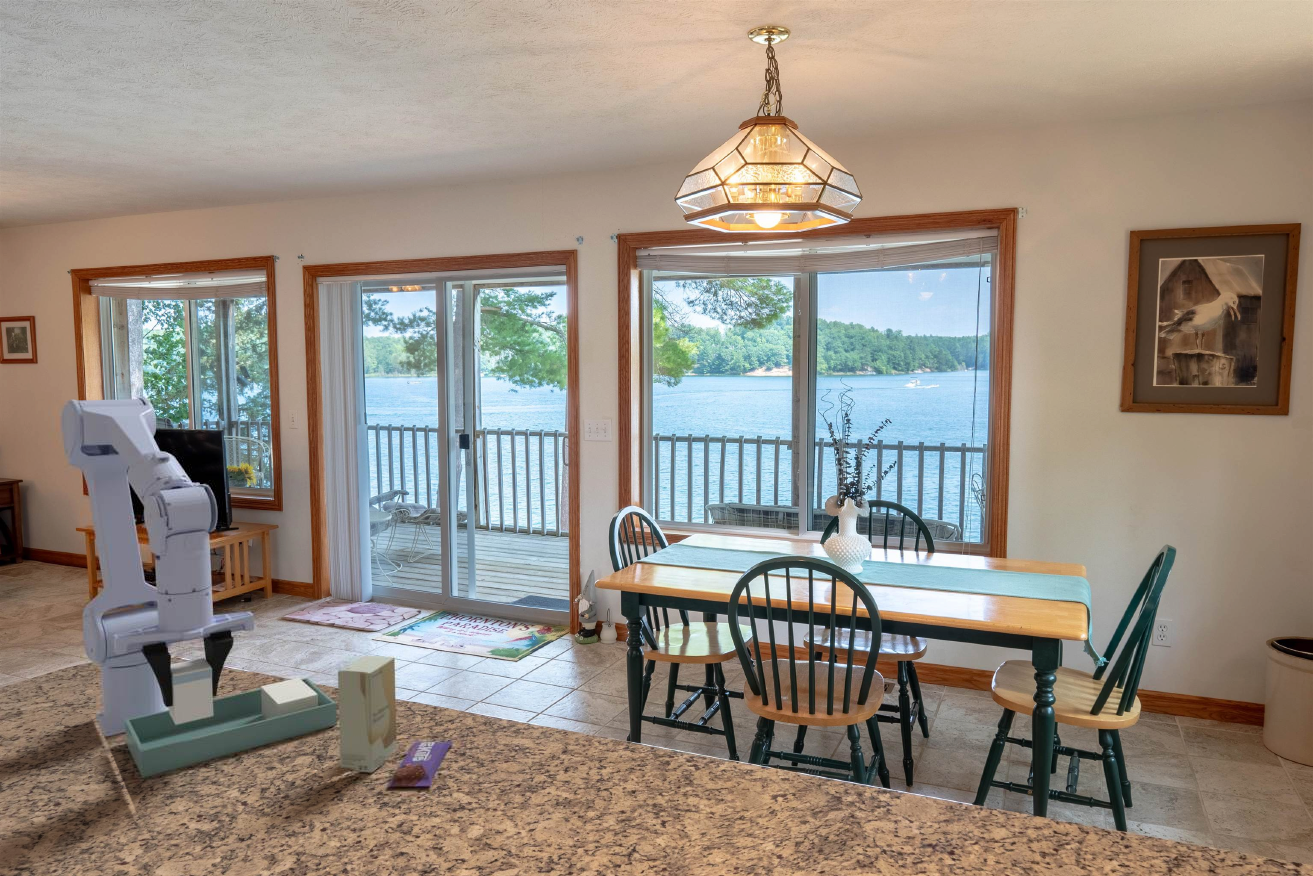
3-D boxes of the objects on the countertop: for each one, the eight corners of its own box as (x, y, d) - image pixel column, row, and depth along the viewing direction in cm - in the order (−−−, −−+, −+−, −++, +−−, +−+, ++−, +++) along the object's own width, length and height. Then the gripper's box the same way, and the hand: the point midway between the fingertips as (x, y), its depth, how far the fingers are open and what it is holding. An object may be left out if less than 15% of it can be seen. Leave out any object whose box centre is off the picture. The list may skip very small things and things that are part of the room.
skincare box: (372, 774, 100) (368, 673, 99) (338, 771, 101) (335, 671, 100) (399, 750, 106) (396, 655, 105) (367, 747, 107) (364, 653, 106)
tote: (126, 746, 107) (124, 720, 107) (307, 701, 122) (307, 677, 121) (142, 781, 98) (141, 752, 98) (337, 728, 113) (336, 702, 112)
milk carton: (168, 713, 102) (166, 665, 101) (206, 704, 104) (204, 657, 104) (175, 725, 99) (172, 675, 98) (214, 715, 101) (211, 667, 101)
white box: (262, 714, 116) (260, 686, 116) (299, 705, 119) (298, 677, 119) (279, 733, 110) (278, 704, 109) (318, 723, 113) (317, 694, 113)
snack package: (414, 734, 108) (453, 734, 108) (414, 749, 108) (454, 748, 108) (385, 778, 96) (429, 778, 96) (386, 794, 96) (430, 794, 96)
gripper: (117, 606, 93) (124, 726, 94) (259, 584, 102) (263, 694, 103) (108, 593, 98) (115, 706, 99) (243, 573, 107) (248, 677, 109)
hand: (190, 699), depth 102 cm, fingers closed on milk carton, 4 cm apart
